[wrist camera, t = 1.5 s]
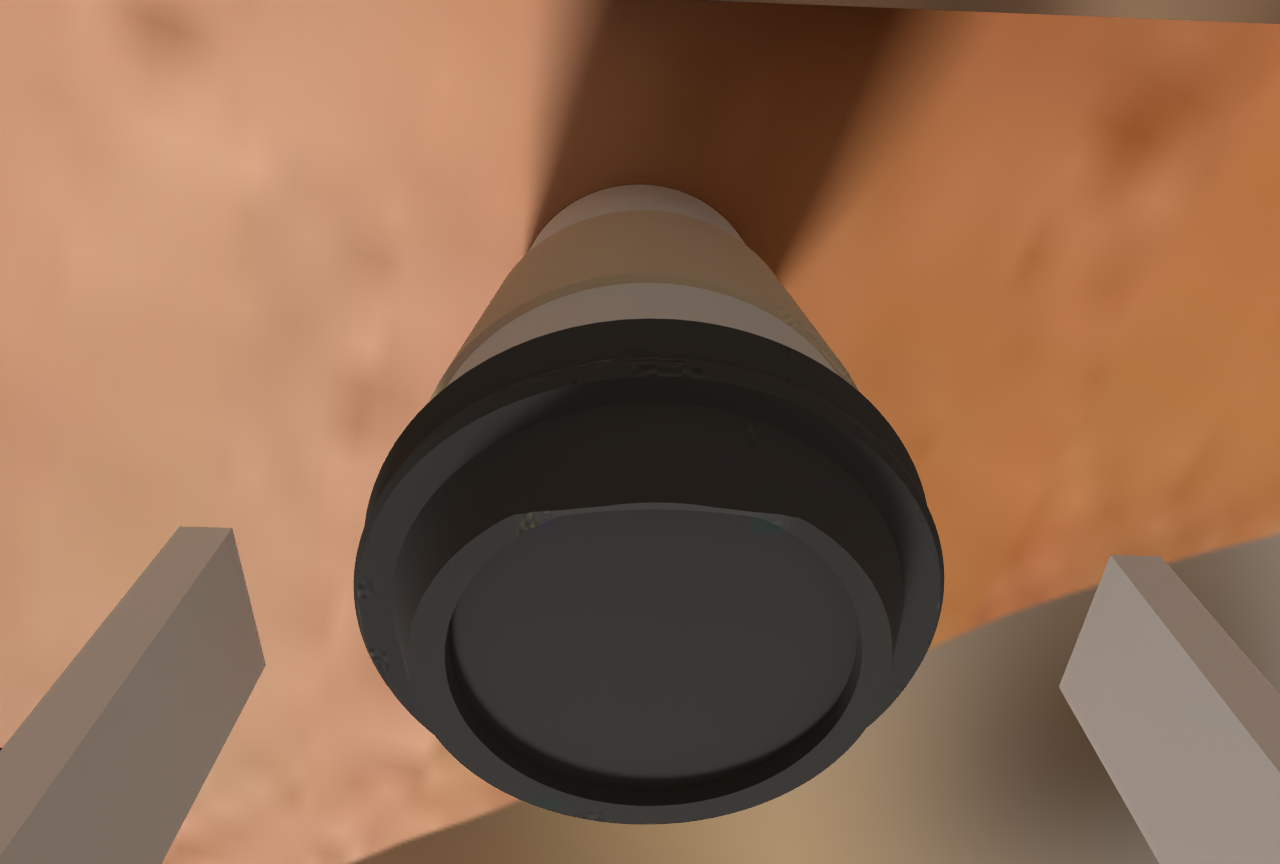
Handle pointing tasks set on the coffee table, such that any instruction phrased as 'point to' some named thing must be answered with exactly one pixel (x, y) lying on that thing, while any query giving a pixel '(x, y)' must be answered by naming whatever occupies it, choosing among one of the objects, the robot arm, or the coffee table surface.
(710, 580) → the coffee cup
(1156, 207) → the coffee table surface
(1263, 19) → the box
